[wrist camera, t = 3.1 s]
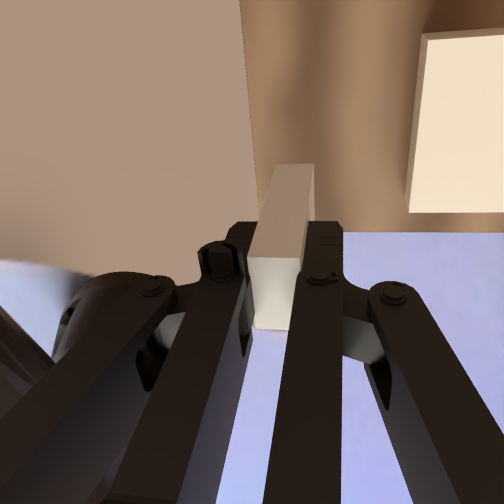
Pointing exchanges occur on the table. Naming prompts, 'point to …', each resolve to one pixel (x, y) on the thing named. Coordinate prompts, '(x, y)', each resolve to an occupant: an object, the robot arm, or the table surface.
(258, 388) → the table surface
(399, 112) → the wooden block
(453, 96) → the tile
